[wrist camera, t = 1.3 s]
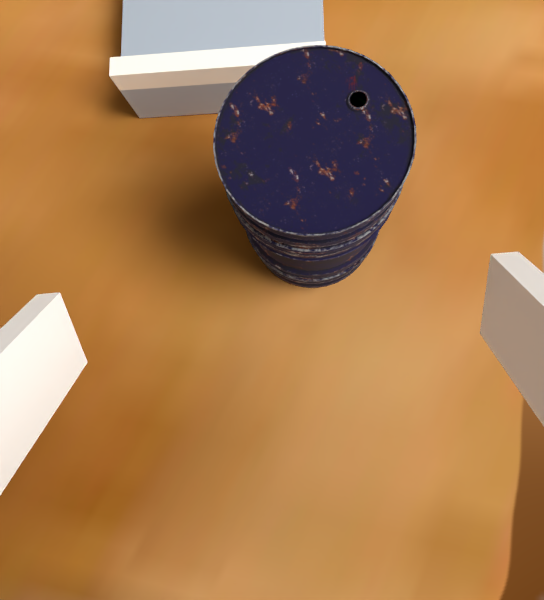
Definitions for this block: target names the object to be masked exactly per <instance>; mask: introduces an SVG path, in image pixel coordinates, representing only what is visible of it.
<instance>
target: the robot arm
mask: <svg viewBox="0 0 544 600" xmlns="http://www.w3.org/2000/svg"><path fill="white" fill-rule="evenodd" d="M480 334H481V336H482V337H483V339H484V340H485V341H486V343H487V344H488V346H489V347H490V349H491V350H492V352H493V353H494V355H495V356H496V358H497V359H498V360H499V362H500V363H501V365H502V366H503V368H504V369H505V371H506V372H507V374H508V375H509V377H510V378H511V379H512V381H513V382H514V384H515V385H516V387H517V388H518V390H519V391H520V393H521V394H522V395H523V397H524V398H525V400H526V401H527V403H528V404H529V406H530V407H531V409H532V410H533V412H534V413H535V414H536V416H537V417H538V419H539V420H540V422H541V423H542V424H543V426H544V273H543V272H541V271H540V270H539V269H538V268H537V267H536V266H534V265H533V264H532V263H531V262H530V261H529V260H527V259H526V258H525V257H524V256H523V255H522V254H520V253H519V252H509V253H497V254H491V256H490V263H489V270H488V278H487V285H486V292H485V300H484V307H483V314H482V322H481V329H480ZM86 364H87V360H86V357H85V355H84V352H83V350H82V347H81V345H80V342H79V340H78V337H77V335H76V332H75V330H74V327H73V324H72V322H71V319H70V317H69V314H68V312H67V309H66V307H65V304H64V302H63V299H62V297H61V294H60V292H59V293H48V294H37V295H36V296H35V297H34V298H33V299H32V300H31V301H29V302H28V303H27V304H26V305H25V306H24V307H23V308H22V309H21V310H20V311H19V312H18V313H17V314H16V315H15V316H14V317H13V318H12V319H10V320H9V321H8V322H7V323H6V324H5V325H4V326H3V327H2V328H1V329H0V495H1V493H2V492H3V490H4V489H5V487H6V486H7V484H8V483H9V481H10V480H11V478H12V477H13V475H14V474H15V472H16V471H17V469H18V468H19V466H20V464H21V463H22V461H23V460H24V458H25V457H26V455H27V454H28V452H29V451H30V449H31V448H32V446H33V445H34V443H35V442H36V440H37V439H38V437H39V436H40V434H41V433H42V431H43V429H44V428H45V426H46V425H47V423H48V422H49V420H50V419H51V417H52V416H53V414H54V413H55V411H56V410H57V408H58V407H59V405H60V404H61V402H62V401H63V399H64V397H65V396H66V394H67V393H68V391H69V390H70V388H71V387H72V385H73V384H74V382H75V381H76V379H77V378H78V376H79V375H80V373H81V372H82V370H83V369H84V367H85V366H86Z"/></svg>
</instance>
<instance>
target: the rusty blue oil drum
mask: <svg viewBox="0 0 544 600" xmlns="http://www.w3.org/2000/svg"><path fill="white" fill-rule="evenodd" d="M415 148H416V125H415V120H414V115H413V111H412V108H411V106H410V103H409V101H408V98H407V96H406V95H405V93H404V91H403V90H402V88H401V86H400V85H399V84H398V82H397V81H396V80H395V79H394V78H393V77H392V75H391V74H390V73H389V72H387V71H386V70H385V69H384V68H383V67H382V66H380V65H379V64H378V63H376V62H375V61H373V60H371V59H370V58H368V57H366V56H364V55H362V54H359V53H357V52H355V51H352V50H349V49H345V48H341V47H336V46H327V45H310V46H301V47H296V48H291V49H288V50H285V51H282V52H279V53H276V54H274V55H272V56H270V57H268V58H266V59H264V60H262V61H261V62H259V63H258V64H257V65H255V66H254V67H252V68H251V69H250V70H248V71H247V72H246V73H245V74H244V75H243V76H242V77H241V78H240V79H239V80H238V81H237V82H236V84H235V85H234V86H233V88H232V89H231V90H230V92H229V93H228V95H227V97H226V98H225V100H224V102H223V104H222V106H221V109H220V111H219V114H218V117H217V120H216V125H215V130H214V142H213V150H214V157H215V164H216V167H217V170H218V173H219V177H220V179H221V181H222V183H223V185H224V187H225V190H226V193H227V197H228V199H229V201H230V203H231V205H232V207H233V209H234V211H235V213H236V215H237V217H238V219H239V221H240V223H241V225H242V226H243V227H244V229H245V230H246V233H247V236H248V239H249V241H250V243H251V245H252V247H253V248H254V250H255V251H256V253H257V254H258V256H259V257H260V259H261V260H262V261H263V262H264V264H265V265H266V266H267V268H268V269H269V270H270V271H271V272H272V273H273V274H275V275H276V276H277V277H279V278H280V279H282V280H284V281H286V282H288V283H290V284H293V285H296V286H301V287H307V288H318V287H324V286H328V285H332V284H335V283H337V282H339V281H341V280H343V279H345V278H346V277H348V276H349V275H350V274H352V273H353V272H354V271H355V270H356V269H357V268H358V267H359V266H360V264H361V263H362V262H363V260H364V259H365V258H366V256H367V255H368V254H369V252H370V250H371V249H372V247H373V245H374V243H375V241H376V239H377V236H378V232H379V230H380V229H381V227H382V226H383V224H384V223H385V222H386V220H387V219H388V217H389V215H390V213H391V211H392V209H393V207H394V205H395V203H396V201H397V199H398V197H399V195H400V193H401V190H402V187H403V184H404V182H405V180H406V178H407V176H408V174H409V172H410V169H411V166H412V163H413V159H414V155H415Z"/></svg>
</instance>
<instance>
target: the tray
mask: <svg viewBox="0 0 544 600" xmlns="http://www.w3.org/2000/svg"><path fill="white" fill-rule="evenodd" d="M310 45H326V43H325V41H324V20H323V0H123V15H122V42H121V57H110V69H109V76H110V78H111V79H112V80H113V82H114V83H115V85H116V86H117V87H118V89H119V90H120V92H121V93H122V94H123V96H124V97H125V99H126V100H127V101H128V103H129V104H130V105H131V107H132V108H133V110H134V111H135V112H136V114H137V115H138V117H139V118H151V117H166V116H182V115H198V114H213V113H219V111H220V109H221V106H222V104H223V102H224V100H225V98H226V97H227V95H228V93H229V92H230V90H231V89H232V88H233V86H234V85H235V84H236V82H237V81H238V80H239V79H240V78H241V77H242V76H243V75H244V74H245V73H246V72H247V71H248V70H250V69H251V68H252V67H254V66H255V65H257V64H258V63H259V62H261V61H262V60H264V59H266V58H268V57H270V56H272V55H274V54H276V53H279V52H282V51H285V50H288V49H291V48H296V47H301V46H310Z"/></svg>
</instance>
